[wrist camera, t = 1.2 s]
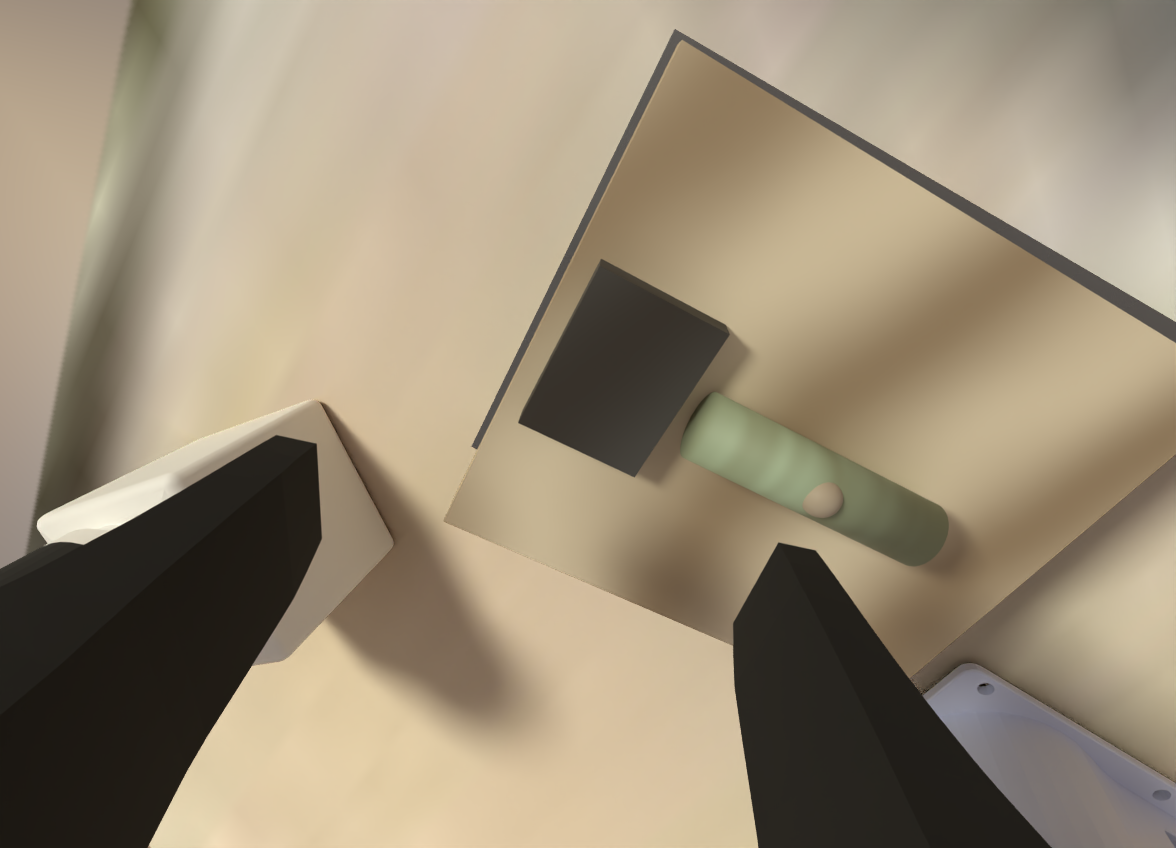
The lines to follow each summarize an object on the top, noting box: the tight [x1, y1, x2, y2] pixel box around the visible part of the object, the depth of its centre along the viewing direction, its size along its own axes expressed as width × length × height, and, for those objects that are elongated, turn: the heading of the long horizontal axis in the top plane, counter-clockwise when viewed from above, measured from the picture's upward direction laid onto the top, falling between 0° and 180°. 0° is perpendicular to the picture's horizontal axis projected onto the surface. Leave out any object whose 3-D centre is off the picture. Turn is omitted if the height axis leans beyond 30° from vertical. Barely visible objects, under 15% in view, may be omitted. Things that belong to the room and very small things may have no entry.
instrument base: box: [472, 29, 1176, 449], centre depth 18 cm, size 15×13×3 cm
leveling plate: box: [444, 40, 1176, 679], centre depth 14 cm, size 14×12×3 cm
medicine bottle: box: [0, 400, 394, 666], centre depth 21 cm, size 7×7×12 cm
